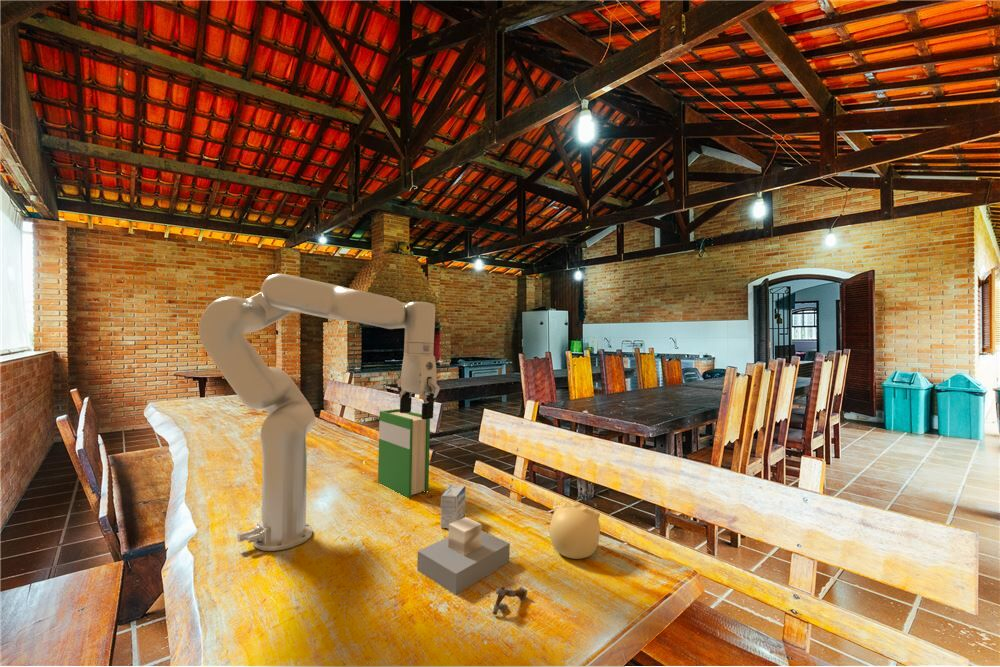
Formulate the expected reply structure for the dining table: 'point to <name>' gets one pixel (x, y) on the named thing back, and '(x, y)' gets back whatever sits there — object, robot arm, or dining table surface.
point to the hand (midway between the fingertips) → (415, 415)
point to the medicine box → (452, 505)
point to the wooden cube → (464, 536)
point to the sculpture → (574, 530)
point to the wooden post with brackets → (510, 593)
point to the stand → (462, 562)
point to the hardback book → (404, 452)
